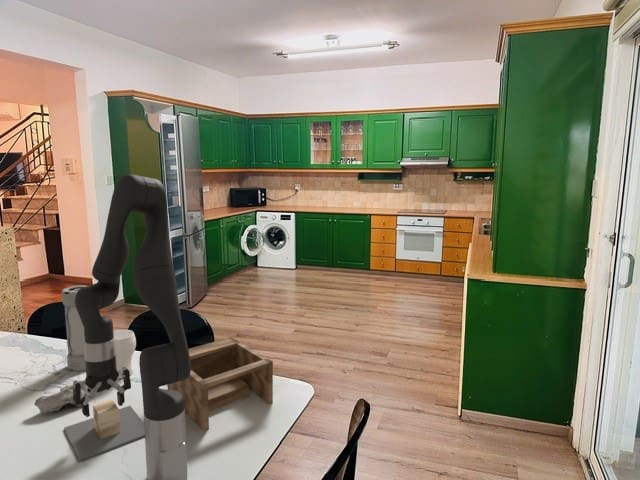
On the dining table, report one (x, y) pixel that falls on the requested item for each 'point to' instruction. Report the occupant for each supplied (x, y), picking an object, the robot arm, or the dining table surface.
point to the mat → (92, 445)
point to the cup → (124, 349)
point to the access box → (223, 378)
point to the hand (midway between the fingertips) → (104, 410)
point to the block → (106, 418)
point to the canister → (74, 330)
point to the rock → (58, 399)
